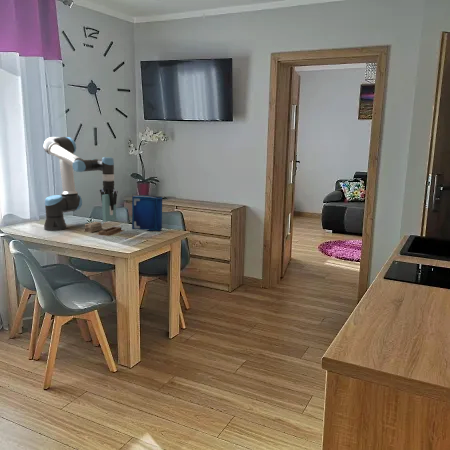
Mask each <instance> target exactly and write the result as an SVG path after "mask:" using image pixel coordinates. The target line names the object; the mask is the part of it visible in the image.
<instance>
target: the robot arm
mask: <svg viewBox="0 0 450 450" xmlns="http://www.w3.org/2000/svg"><path fill="white" fill-rule="evenodd" d="M43 149H44V152H46V153H47V154H48V155H49V156H51V157H55V158H57V159H58V160H59V168H60V176H61V178H60V179H61V186H62V187H61V188H62V192H61V194H53V195H49V196H47V197H46V198H45V199H44V205H45V206H44V207H45V222H44V225H43V229H44V230H45V231H62V230H63V231H64V230H65V229H67V223H66V220H65V219H64V213H70V212H71V213H72V212H75V211H80V209H81V208H82V206H83V199H82V197H81V195H80V194H78V191H76V185H75V184H76V183H75V176H74V175H75V174H74V172H77V173H83V172H95V171H99V172H101V174H102V188H101V189H99V193H100V198H101V199H100V200H101V201H102V195H105V194H109V198H110V215H113V210H114V205H116V206H117V202H118V201H117V198H118V192H119V191H118V190H117V189H115V160H114V157H112V156H103V157H102V158H101V159H99V158H92V159H83V158H82V157H80V156H77V155H76V154H75V152H76V150H77V144H76V141H75V140H74V139H73V138H72V137H69V136H50V137H48V138H46V139H45V140H44V142H43ZM113 193H114V194H113Z"/></svg>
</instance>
